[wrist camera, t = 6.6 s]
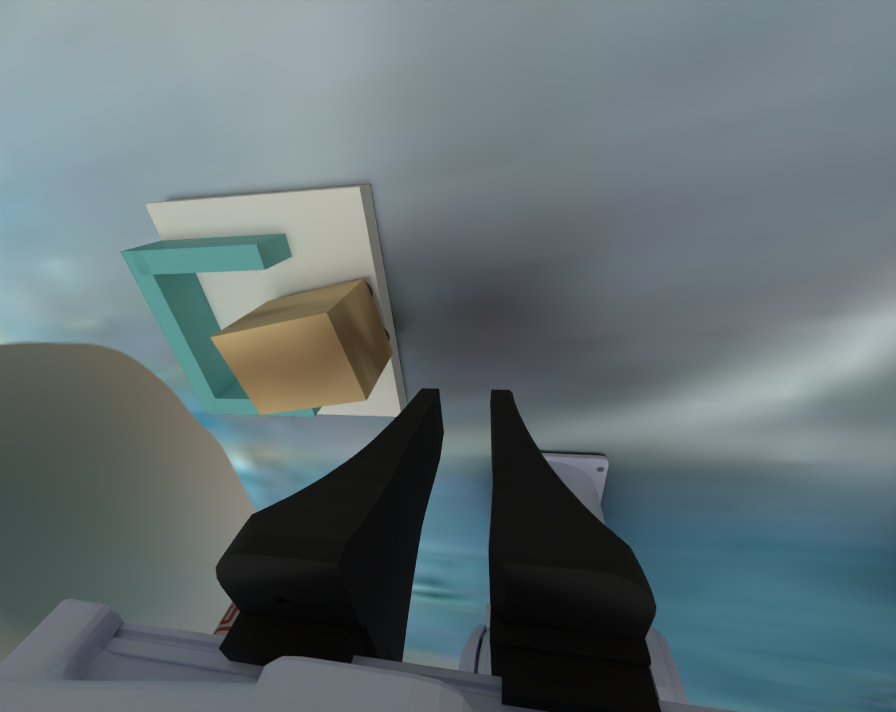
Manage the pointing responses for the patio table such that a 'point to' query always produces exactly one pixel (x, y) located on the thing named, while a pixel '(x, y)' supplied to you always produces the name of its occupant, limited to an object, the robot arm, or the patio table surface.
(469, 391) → the patio table surface
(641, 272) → the patio table surface
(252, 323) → the cardboard box
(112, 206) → the patio table surface
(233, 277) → the dock
